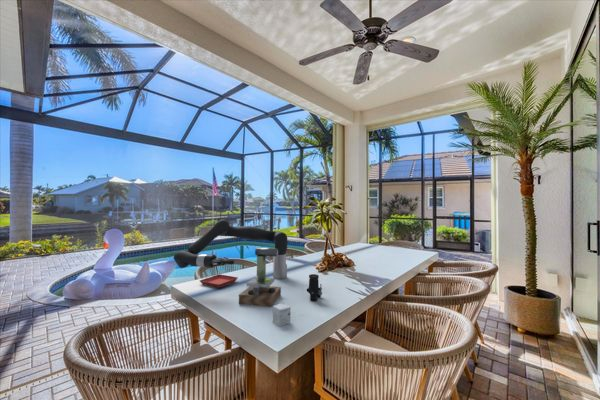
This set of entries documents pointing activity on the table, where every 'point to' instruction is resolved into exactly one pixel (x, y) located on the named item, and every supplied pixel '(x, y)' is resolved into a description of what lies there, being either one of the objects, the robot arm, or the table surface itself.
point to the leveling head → (262, 267)
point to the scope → (314, 288)
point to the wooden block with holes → (260, 296)
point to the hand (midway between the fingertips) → (233, 262)
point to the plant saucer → (218, 280)
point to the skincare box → (281, 314)
